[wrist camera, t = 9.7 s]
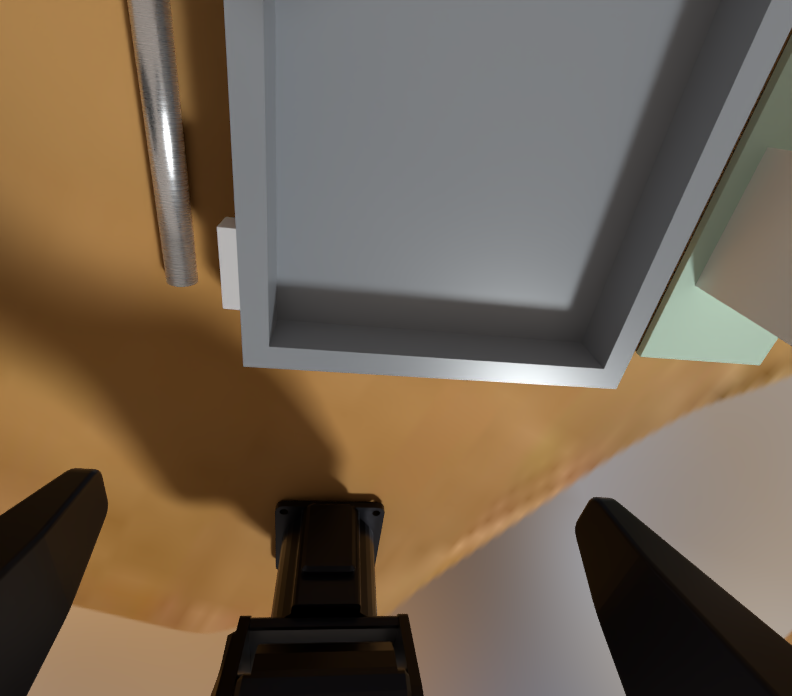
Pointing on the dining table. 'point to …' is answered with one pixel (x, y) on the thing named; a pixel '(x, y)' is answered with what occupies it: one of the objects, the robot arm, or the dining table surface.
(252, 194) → the grey flat square tray
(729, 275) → the block
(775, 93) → the pad
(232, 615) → the dining table surface
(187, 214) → the stay rod
